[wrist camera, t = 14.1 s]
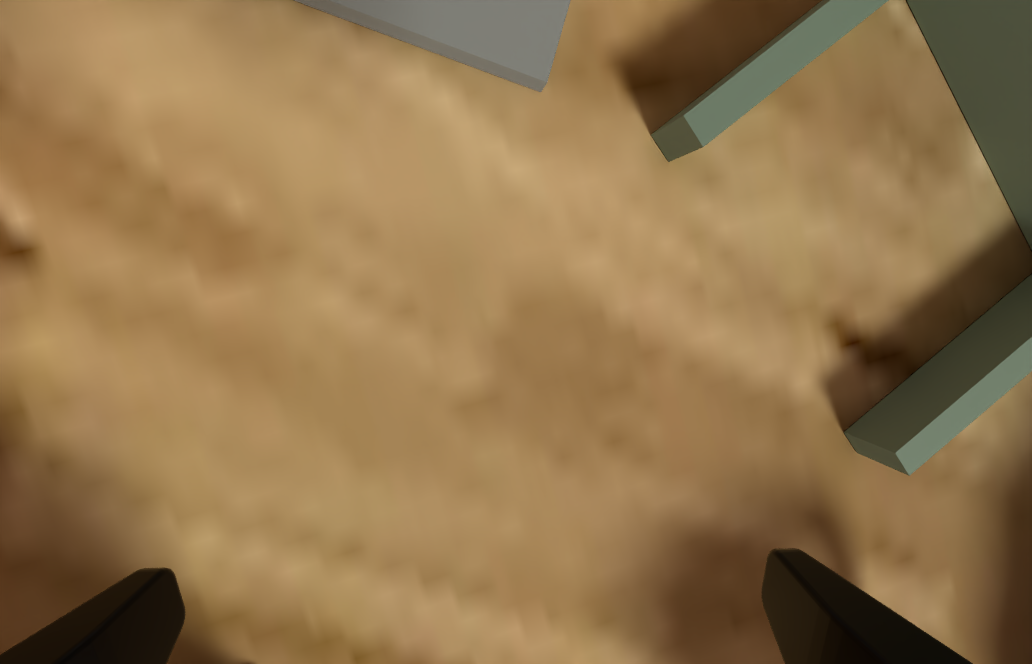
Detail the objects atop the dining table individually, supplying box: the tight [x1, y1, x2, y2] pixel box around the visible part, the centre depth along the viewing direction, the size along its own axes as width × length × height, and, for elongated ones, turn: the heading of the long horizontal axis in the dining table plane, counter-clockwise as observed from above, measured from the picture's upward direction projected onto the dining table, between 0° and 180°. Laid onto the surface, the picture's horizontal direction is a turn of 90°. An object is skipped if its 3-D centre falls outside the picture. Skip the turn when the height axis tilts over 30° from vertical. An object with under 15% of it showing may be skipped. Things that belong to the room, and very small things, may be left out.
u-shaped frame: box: [651, 0, 1032, 476], centre depth 18 cm, size 13×16×7 cm
